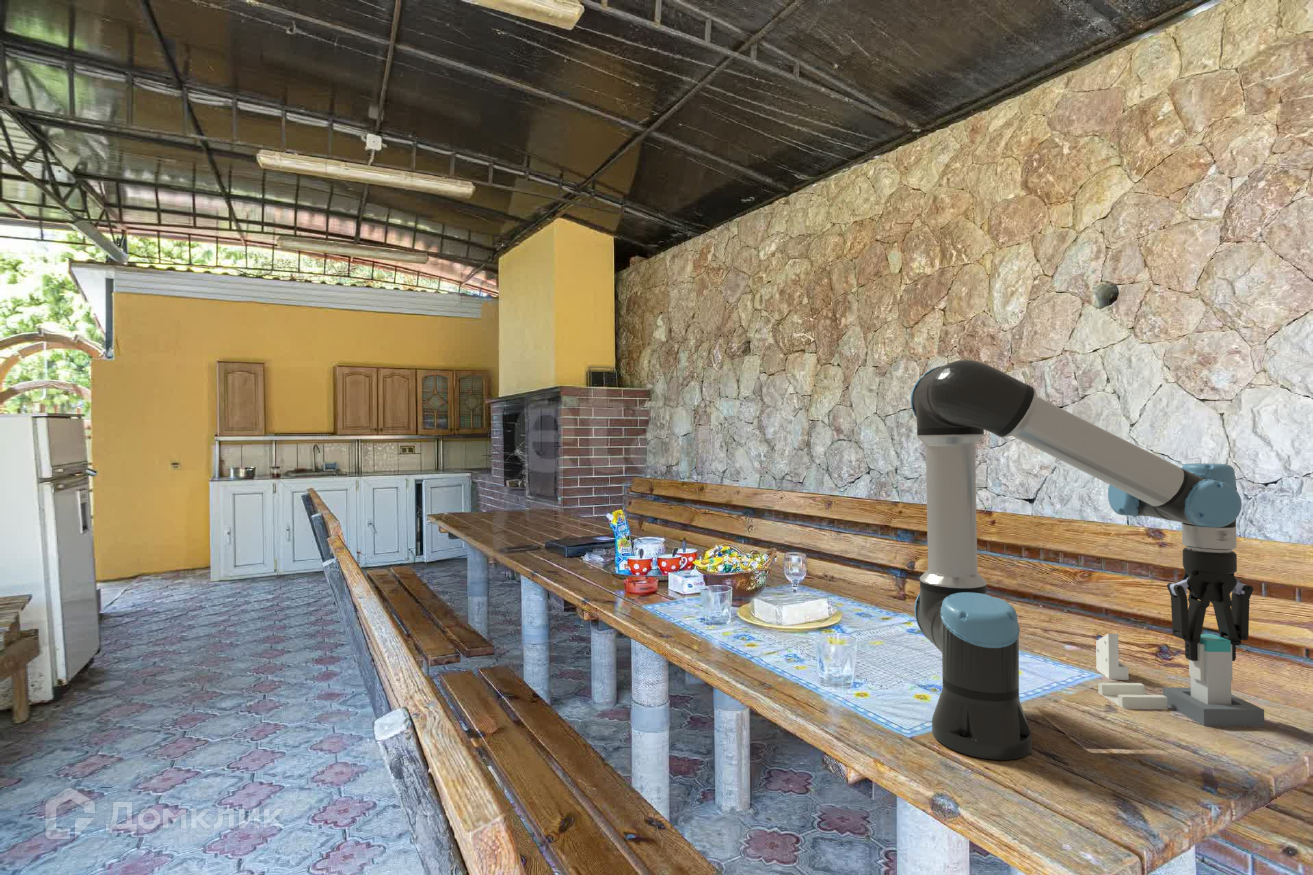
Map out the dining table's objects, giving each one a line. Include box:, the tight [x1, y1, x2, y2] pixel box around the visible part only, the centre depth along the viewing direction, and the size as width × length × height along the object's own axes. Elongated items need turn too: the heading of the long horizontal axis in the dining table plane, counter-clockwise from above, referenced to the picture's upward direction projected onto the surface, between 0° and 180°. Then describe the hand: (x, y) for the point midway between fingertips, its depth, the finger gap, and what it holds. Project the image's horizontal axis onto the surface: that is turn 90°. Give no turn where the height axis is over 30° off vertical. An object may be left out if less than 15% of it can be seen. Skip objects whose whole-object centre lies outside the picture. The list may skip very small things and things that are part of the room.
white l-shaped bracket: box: [1095, 633, 1130, 681], centre depth 138 cm, size 4×10×9 cm
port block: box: [1162, 686, 1265, 728], centre depth 119 cm, size 10×10×4 cm
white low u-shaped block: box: [1096, 682, 1169, 710], centre depth 126 cm, size 8×8×3 cm
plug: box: [1190, 633, 1232, 705], centre depth 119 cm, size 4×4×14 cm
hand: (1210, 677), depth 119 cm, fingers closed on plug, 4 cm apart
